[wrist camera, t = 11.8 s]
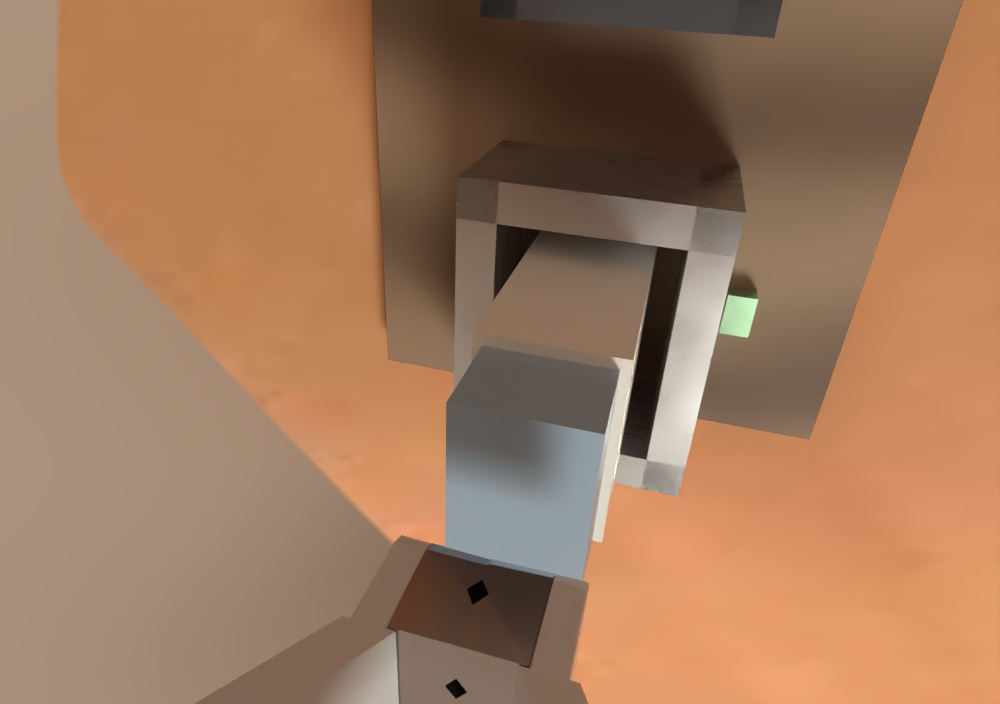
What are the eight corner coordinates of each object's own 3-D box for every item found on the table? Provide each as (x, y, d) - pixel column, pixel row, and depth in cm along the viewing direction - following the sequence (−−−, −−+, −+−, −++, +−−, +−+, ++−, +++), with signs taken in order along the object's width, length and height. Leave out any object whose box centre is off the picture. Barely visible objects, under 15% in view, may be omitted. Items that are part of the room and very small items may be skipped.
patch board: (371, -466, 14) (349, -493, 13) (1130, -533, 11) (1164, -575, 10) (399, 346, 24) (387, 359, 23) (805, 421, 21) (809, 439, 21)
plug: (556, 207, 19) (435, 387, 11) (662, 221, 19) (619, 424, 10) (544, 343, 21) (435, 579, 13) (638, 359, 21) (586, 619, 12)
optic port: (502, 140, 19) (456, 176, 15) (788, 172, 17) (806, 219, 14) (491, 378, 23) (453, 448, 19) (722, 421, 21) (724, 506, 18)
